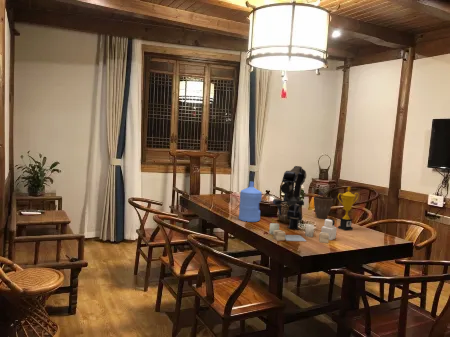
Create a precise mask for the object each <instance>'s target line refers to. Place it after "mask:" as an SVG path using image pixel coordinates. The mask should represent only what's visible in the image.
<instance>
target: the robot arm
mask: <svg viewBox="0 0 450 337" xmlns="http://www.w3.org/2000/svg"><path fill="white" fill-rule="evenodd" d="M306 179H307V172H306V170H305V169H304V168H303V166H300V165H299V166H298V165H295V166H293V168H292V169H290V170H286V171H284V173H283V176H282V179H281V182H282V183H283V184H281V186H280V191H281V193H282V194H284V197H283V200H282V199H280V198H274V199H273V200H272V204H274V205H275V206H277V210H278V213H279V216H282V204H286V205H288V206H289V207H288V209H287V213H286V215H287V217H286V218H287V220H289V225H288V226H287V228H289V230H300V228H299V222H300V221H302V213H301V212H302V211H301V207H302V206H304V205H305V201H304V200H303V199H301V194H302V193H301V192H302V187H303V186H302V185H303V184H304V183H305V182H306Z"/></svg>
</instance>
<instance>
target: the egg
mask: <svg viewBox="0 0 450 337" xmlns="http://www.w3.org/2000/svg"><path fill="white" fill-rule="evenodd" d="M314 231H315V225H314V224H312V223H307V224H305V231H304V232H305V234H304V236H305V237H307V238H308V237H309V238H313V237H314Z"/></svg>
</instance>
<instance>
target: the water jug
mask: <svg viewBox="0 0 450 337" xmlns="http://www.w3.org/2000/svg"><path fill="white" fill-rule="evenodd" d="M248 185H249V186H248V187H246V188H244V189H241V190H240V193H239V209H238V213H239V214H238V220H240V221H243V222H246V221H247V223H256V222H259V221H261V210H260V203H261V202H262V198H263V197H262V196H263V192H262V191H261V190H259V189H257V188H255V187H254V185H255V182H254V181H249V184H248Z"/></svg>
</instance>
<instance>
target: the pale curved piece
mask: <svg viewBox="0 0 450 337" xmlns="http://www.w3.org/2000/svg"><path fill="white" fill-rule="evenodd" d="M274 230H280V223H275V222H271V223H269V231H268V232H269V234H270V235H272V236H273V234H274Z"/></svg>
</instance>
